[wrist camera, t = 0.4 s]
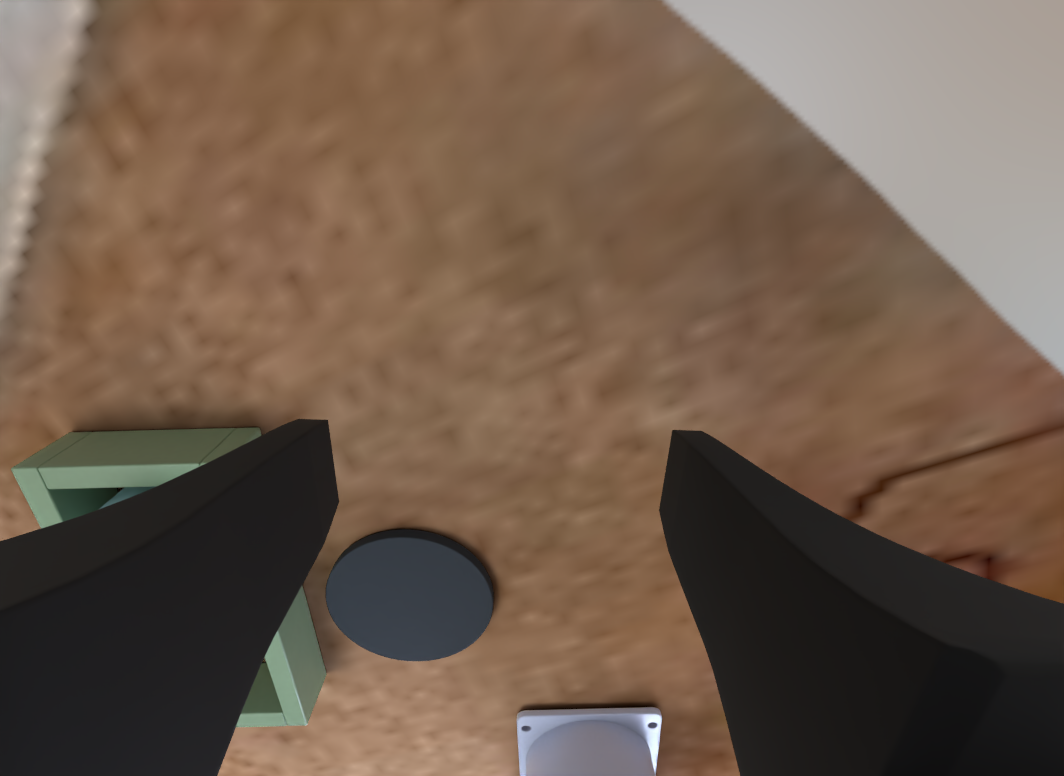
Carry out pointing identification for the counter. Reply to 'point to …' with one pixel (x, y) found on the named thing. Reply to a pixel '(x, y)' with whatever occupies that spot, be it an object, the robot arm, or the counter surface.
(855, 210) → the counter surface
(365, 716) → the counter surface
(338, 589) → the coaster
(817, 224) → the counter surface
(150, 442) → the bottle rack
